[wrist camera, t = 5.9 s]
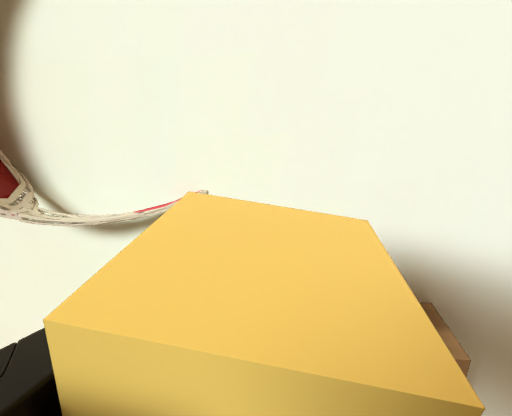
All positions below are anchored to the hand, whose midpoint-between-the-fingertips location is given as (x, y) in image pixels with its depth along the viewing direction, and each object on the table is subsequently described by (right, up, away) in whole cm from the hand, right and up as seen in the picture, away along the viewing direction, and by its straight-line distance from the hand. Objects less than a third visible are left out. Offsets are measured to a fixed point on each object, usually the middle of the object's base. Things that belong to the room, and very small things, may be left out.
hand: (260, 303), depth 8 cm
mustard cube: (0, 0, +1) cm, 1 cm away
